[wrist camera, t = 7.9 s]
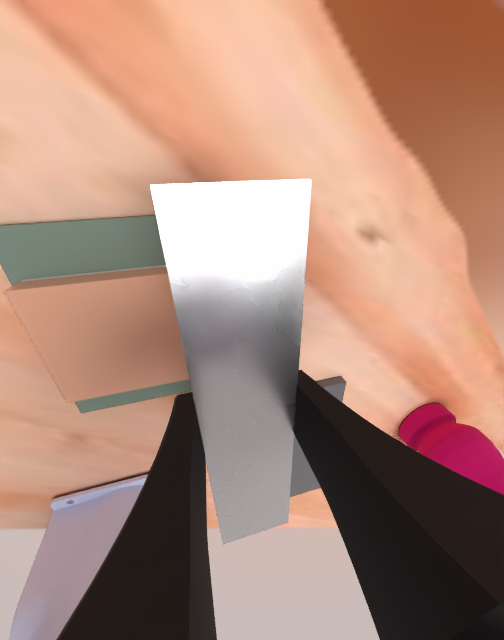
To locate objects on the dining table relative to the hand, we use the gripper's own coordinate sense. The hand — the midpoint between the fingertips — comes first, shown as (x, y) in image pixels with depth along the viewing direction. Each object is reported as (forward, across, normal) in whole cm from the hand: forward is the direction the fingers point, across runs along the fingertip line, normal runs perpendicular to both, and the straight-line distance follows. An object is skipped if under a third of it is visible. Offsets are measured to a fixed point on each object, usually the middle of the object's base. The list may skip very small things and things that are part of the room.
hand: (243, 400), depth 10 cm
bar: (+4, 0, +1) cm, 4 cm away
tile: (+7, +1, 0) cm, 7 cm away
